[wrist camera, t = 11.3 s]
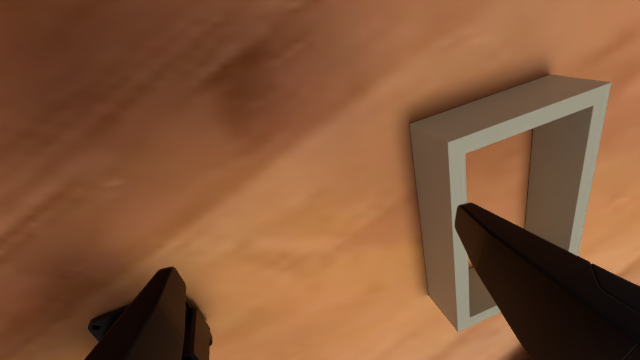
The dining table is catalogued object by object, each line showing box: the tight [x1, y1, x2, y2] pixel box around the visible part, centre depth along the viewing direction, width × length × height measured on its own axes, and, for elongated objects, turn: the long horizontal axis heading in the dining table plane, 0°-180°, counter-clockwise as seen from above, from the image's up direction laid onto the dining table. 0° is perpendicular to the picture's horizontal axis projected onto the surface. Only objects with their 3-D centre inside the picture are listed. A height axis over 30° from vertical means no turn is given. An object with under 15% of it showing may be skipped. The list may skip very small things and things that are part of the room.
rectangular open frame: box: [409, 75, 611, 332], centre depth 27 cm, size 12×18×4 cm
